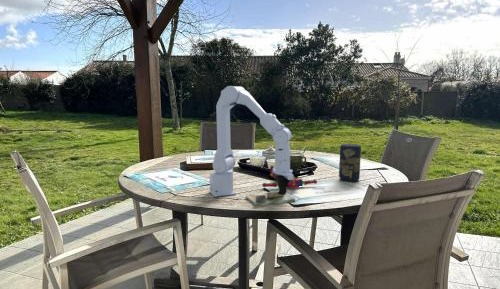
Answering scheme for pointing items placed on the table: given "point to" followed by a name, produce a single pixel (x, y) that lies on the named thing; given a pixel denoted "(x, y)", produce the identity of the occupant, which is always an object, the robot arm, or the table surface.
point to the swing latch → (273, 194)
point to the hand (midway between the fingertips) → (282, 194)
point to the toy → (292, 183)
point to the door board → (262, 199)
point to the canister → (349, 162)
